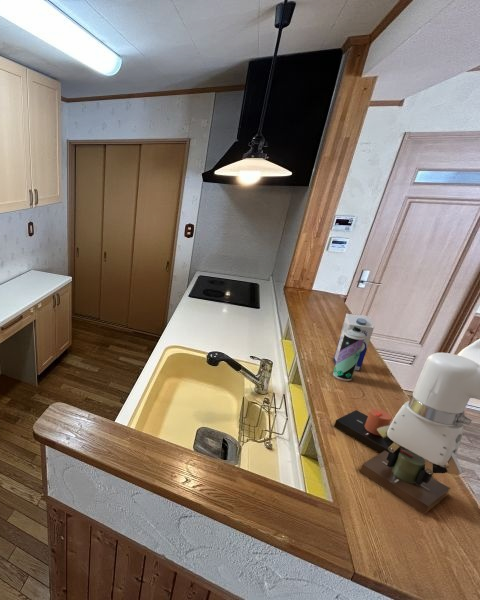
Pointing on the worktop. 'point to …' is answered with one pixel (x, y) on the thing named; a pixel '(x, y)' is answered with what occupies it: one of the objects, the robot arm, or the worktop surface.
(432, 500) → the brown dial base plate
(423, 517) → the worktop surface
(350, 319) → the milk carton
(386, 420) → the dial knob
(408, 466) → the green rotary knob near
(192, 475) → the worktop surface
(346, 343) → the spray can
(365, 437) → the black dial base plate
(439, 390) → the robot arm
